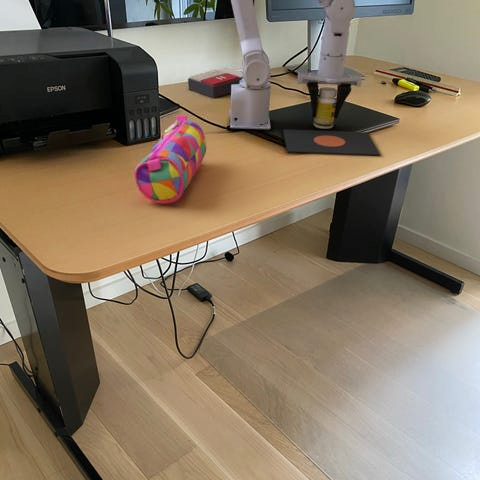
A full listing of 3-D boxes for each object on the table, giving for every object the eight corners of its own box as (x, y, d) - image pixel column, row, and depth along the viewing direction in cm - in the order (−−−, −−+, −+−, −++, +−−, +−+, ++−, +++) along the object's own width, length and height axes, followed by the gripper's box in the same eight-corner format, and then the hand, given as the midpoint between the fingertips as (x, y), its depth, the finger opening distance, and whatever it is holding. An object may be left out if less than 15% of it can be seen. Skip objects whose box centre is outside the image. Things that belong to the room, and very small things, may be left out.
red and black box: (187, 75, 142) (225, 65, 150) (188, 91, 145) (225, 80, 153) (213, 83, 136) (252, 72, 144) (214, 100, 139) (252, 88, 147)
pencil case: (162, 158, 104) (159, 113, 98) (207, 161, 103) (207, 116, 98) (134, 205, 87) (129, 153, 81) (188, 210, 87) (187, 158, 81)
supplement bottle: (332, 130, 121) (337, 92, 116) (312, 128, 122) (317, 90, 116) (333, 123, 125) (338, 87, 119) (314, 122, 125) (318, 85, 120)
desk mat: (287, 152, 109) (287, 150, 109) (283, 131, 120) (283, 128, 120) (379, 156, 109) (380, 153, 109) (367, 134, 120) (367, 131, 120)
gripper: (302, 56, 110) (295, 120, 118) (368, 59, 110) (357, 123, 119) (299, 49, 115) (293, 111, 124) (362, 52, 116) (352, 113, 124)
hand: (324, 116), depth 122 cm, fingers closed on supplement bottle, 5 cm apart
